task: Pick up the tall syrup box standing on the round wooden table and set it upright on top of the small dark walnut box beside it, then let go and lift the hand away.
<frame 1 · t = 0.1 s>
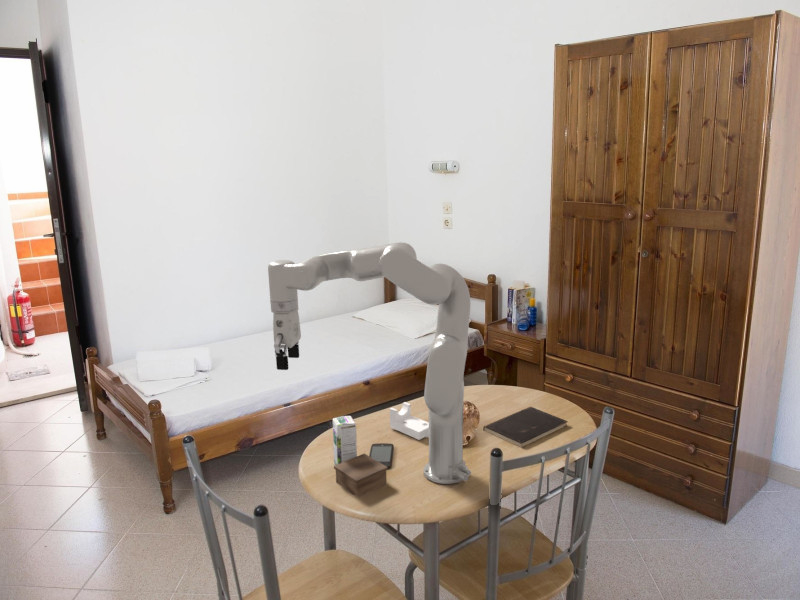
hand: (288, 363, 179), 31 cm above the table, tool pointing down, fingers open, 9 cm apart
syrup box: (345, 466, 184), on the table
hardcover book: (525, 430, 206), on the table
bracket: (412, 432, 205), on the table
walnut box: (361, 483, 175), on the table
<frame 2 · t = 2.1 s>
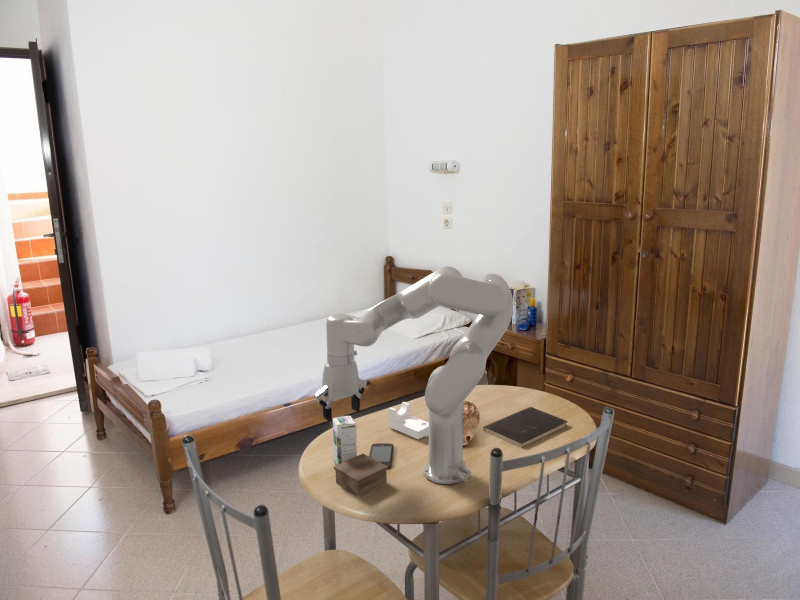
hand: (341, 415, 180), 16 cm above the table, tool pointing down, fingers open, 9 cm apart
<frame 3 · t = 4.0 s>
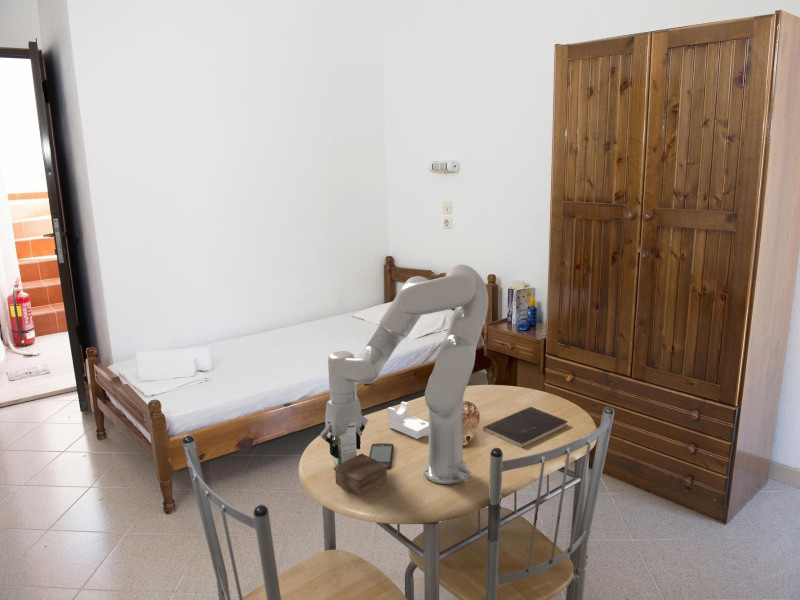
hand: (345, 451, 183), 5 cm above the table, tool pointing down, fingers closed on syrup box, 7 cm apart
syrup box: (345, 466, 184), on the table, touching gripper
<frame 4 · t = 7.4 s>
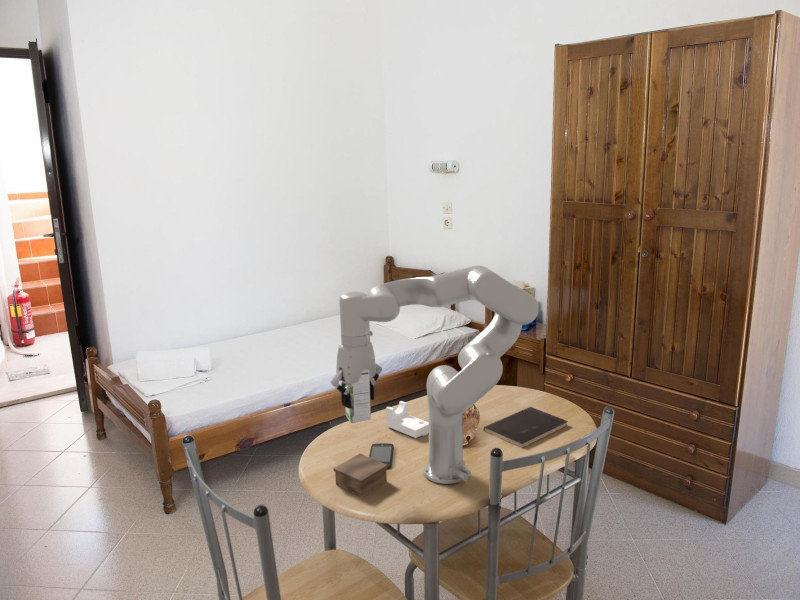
hand: (358, 402, 169), 24 cm above the table, tool pointing down, fingers closed on syrup box, 7 cm apart
syrup box: (358, 418, 171), point 19 cm above the table, touching gripper
when the fingers open (12 cm above the table, at t = 11.1 s): syrup box drops 2 cm, point 5 cm above the table.
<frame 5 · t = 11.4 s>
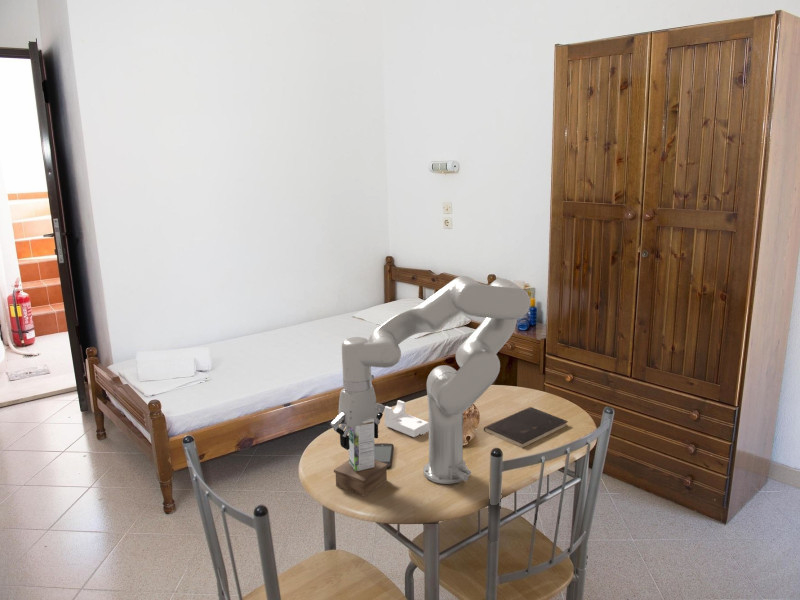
hand: (359, 442, 172), 12 cm above the table, tool pointing down, fingers open, 9 cm apart
syrup box: (361, 466, 175), point 5 cm above the table
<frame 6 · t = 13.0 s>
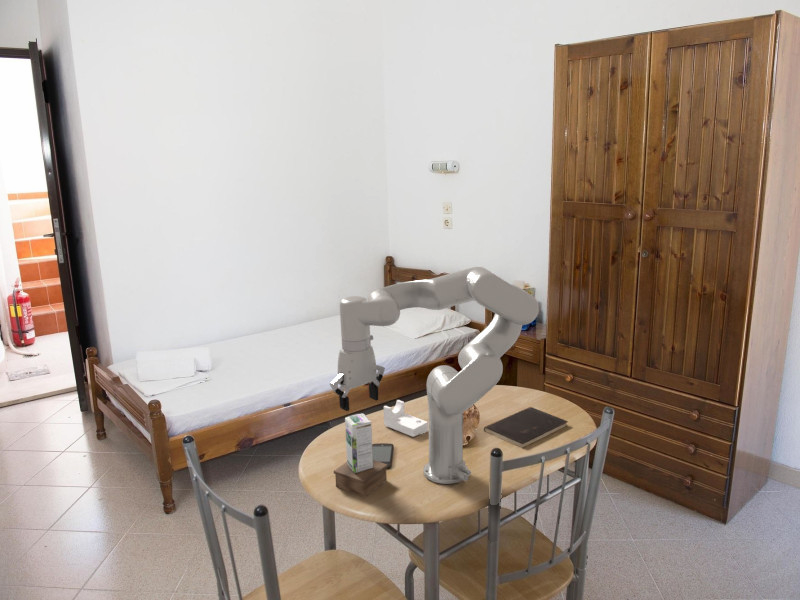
hand: (359, 404, 169), 23 cm above the table, tool pointing down, fingers open, 9 cm apart
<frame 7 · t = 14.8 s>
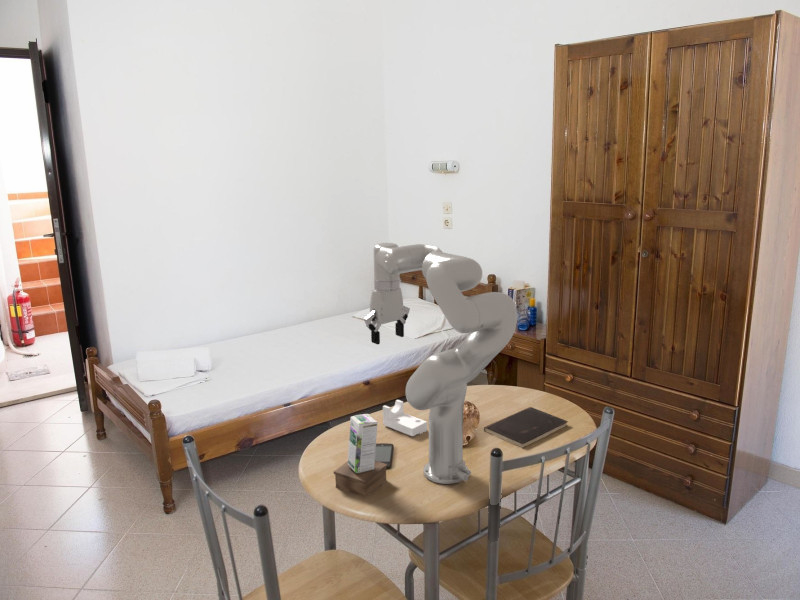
hand: (387, 339, 192), 33 cm above the table, tool pointing down, fingers open, 9 cm apart
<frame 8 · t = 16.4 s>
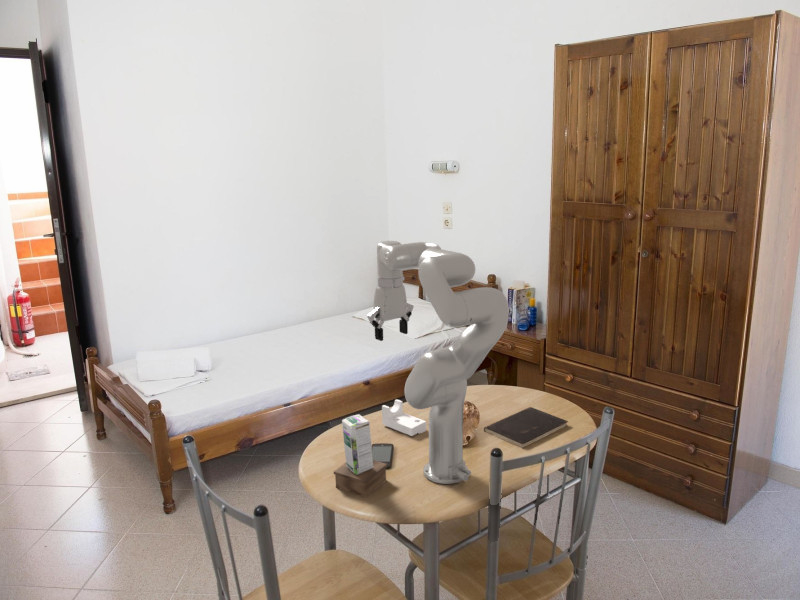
hand: (391, 336, 194), 33 cm above the table, tool pointing down, fingers open, 9 cm apart
at the end: syrup box 0.2 cm off-centre on the walnut box, point 5.2 cm above the walnut box's base; syrup box tilted 3°; the gripper is holding nothing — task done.
